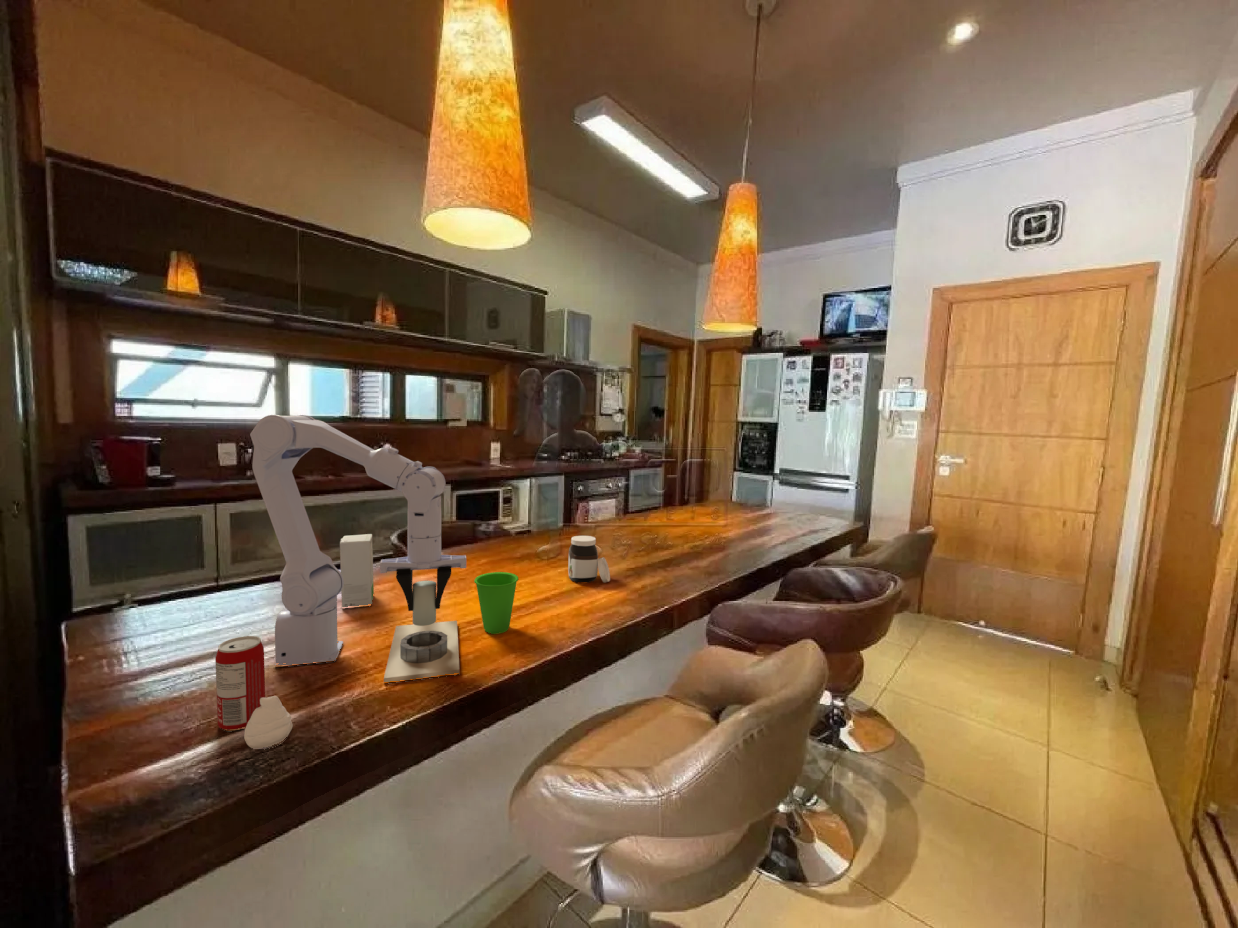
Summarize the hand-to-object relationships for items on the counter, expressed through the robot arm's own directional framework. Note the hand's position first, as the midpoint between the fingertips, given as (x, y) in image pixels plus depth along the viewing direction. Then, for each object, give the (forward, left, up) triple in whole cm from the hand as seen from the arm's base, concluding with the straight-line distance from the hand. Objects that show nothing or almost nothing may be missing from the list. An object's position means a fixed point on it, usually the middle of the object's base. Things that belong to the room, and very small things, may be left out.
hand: (424, 607), depth 94 cm
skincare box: (-16, +33, -10) cm, 38 cm away
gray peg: (0, 0, -2) cm, 3 cm away
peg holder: (0, +3, -10) cm, 10 cm away
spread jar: (+42, +38, -10) cm, 57 cm away
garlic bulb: (-19, -20, -10) cm, 29 cm away
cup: (+14, +10, -10) cm, 20 cm away
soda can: (-24, -14, -10) cm, 29 cm away
